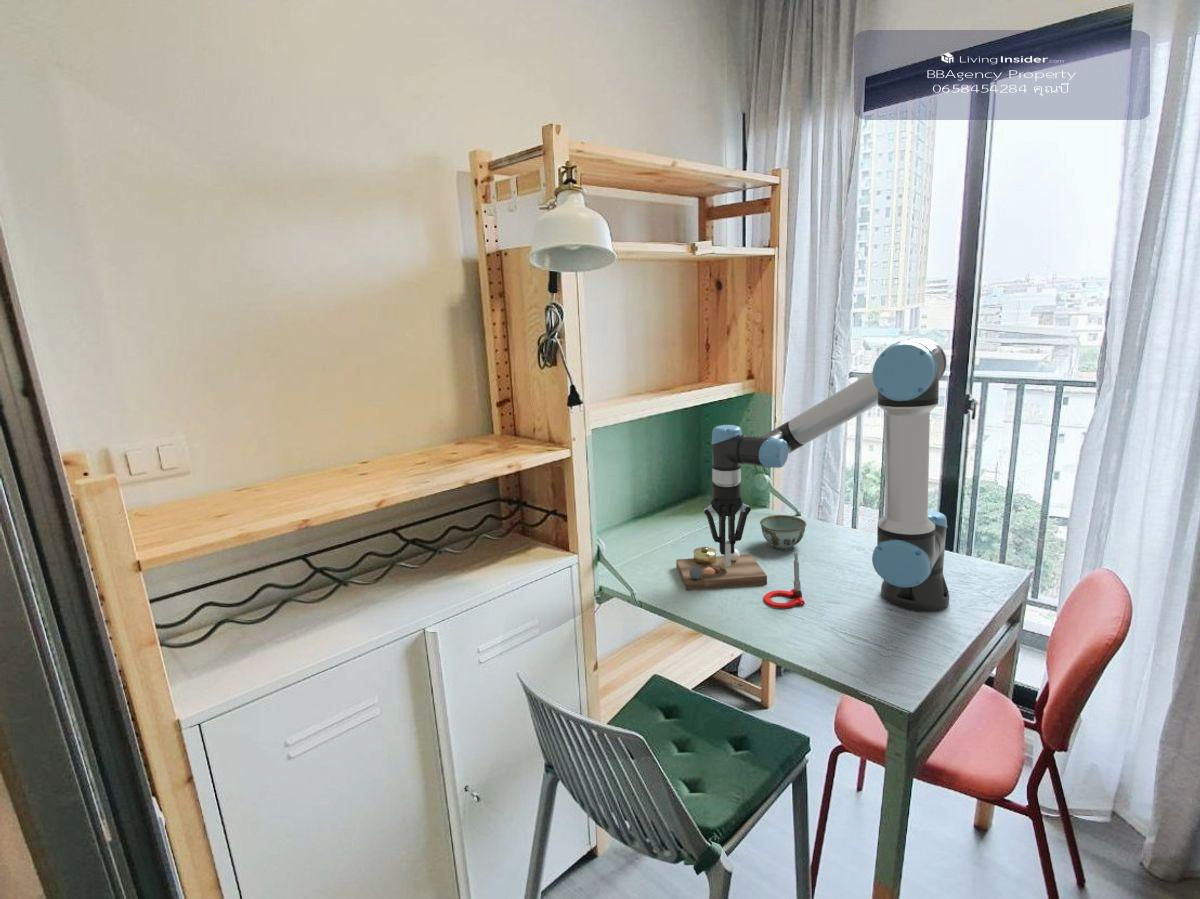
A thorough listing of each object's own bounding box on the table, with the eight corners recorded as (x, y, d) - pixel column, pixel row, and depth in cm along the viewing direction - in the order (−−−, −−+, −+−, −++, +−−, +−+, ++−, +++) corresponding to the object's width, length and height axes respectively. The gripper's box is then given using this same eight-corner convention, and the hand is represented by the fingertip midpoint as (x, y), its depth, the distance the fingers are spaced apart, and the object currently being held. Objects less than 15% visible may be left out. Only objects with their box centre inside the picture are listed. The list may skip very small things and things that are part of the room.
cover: (718, 563, 171) (718, 551, 170) (696, 564, 171) (696, 553, 170) (713, 554, 177) (713, 543, 177) (691, 555, 177) (691, 544, 176)
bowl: (795, 536, 194) (796, 513, 192) (813, 553, 181) (813, 528, 179) (754, 540, 193) (754, 516, 192) (768, 556, 180) (768, 531, 178)
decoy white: (741, 562, 172) (741, 550, 171) (729, 563, 171) (728, 551, 171) (737, 557, 175) (737, 546, 174) (725, 558, 175) (725, 547, 174)
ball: (701, 579, 166) (712, 584, 166) (708, 568, 165) (719, 574, 166) (699, 573, 169) (709, 578, 170) (705, 563, 168) (716, 568, 169)
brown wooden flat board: (766, 584, 163) (766, 575, 162) (686, 590, 162) (686, 581, 161) (750, 561, 177) (750, 554, 177) (676, 567, 177) (676, 559, 176)
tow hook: (769, 611, 150) (806, 607, 150) (767, 563, 147) (805, 559, 147) (760, 596, 158) (795, 592, 158) (757, 550, 155) (793, 546, 155)
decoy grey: (703, 581, 161) (703, 568, 161) (690, 582, 161) (690, 569, 160) (701, 575, 165) (700, 563, 164) (688, 576, 165) (688, 564, 164)
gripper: (746, 477, 166) (746, 557, 171) (699, 480, 165) (700, 560, 170) (754, 485, 158) (754, 568, 164) (705, 488, 158) (706, 571, 163)
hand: (727, 564), depth 167 cm, fingers closed
